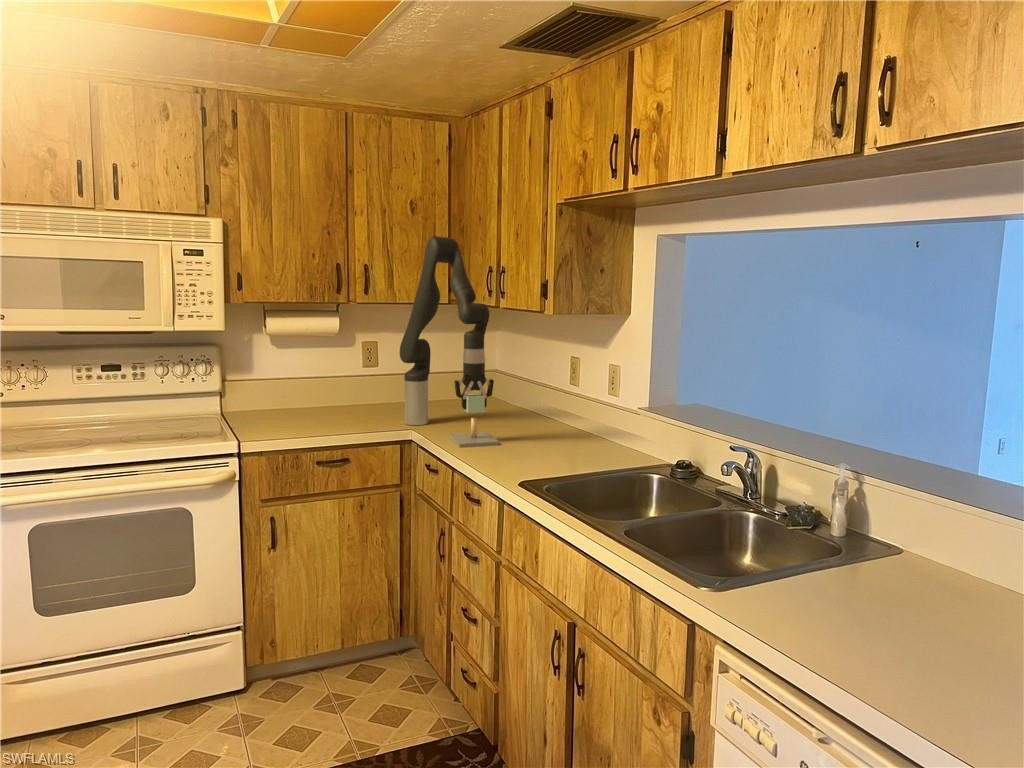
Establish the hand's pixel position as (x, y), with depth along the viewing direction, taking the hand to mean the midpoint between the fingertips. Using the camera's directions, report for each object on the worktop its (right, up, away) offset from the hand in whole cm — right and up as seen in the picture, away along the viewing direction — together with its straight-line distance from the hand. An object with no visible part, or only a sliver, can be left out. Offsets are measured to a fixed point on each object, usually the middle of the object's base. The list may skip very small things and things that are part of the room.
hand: (474, 408), depth 258 cm
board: (0, -11, +2) cm, 12 cm away
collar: (0, -1, 0) cm, 1 cm away
